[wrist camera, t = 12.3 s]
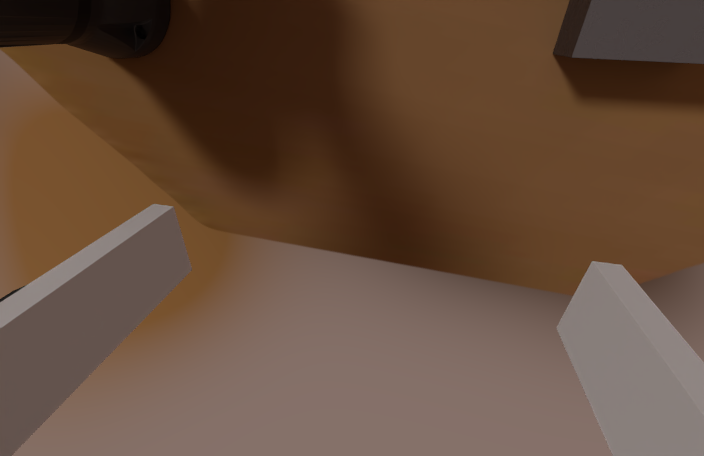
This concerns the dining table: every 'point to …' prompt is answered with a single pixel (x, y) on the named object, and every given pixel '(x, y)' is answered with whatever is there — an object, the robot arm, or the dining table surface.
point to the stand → (633, 30)
